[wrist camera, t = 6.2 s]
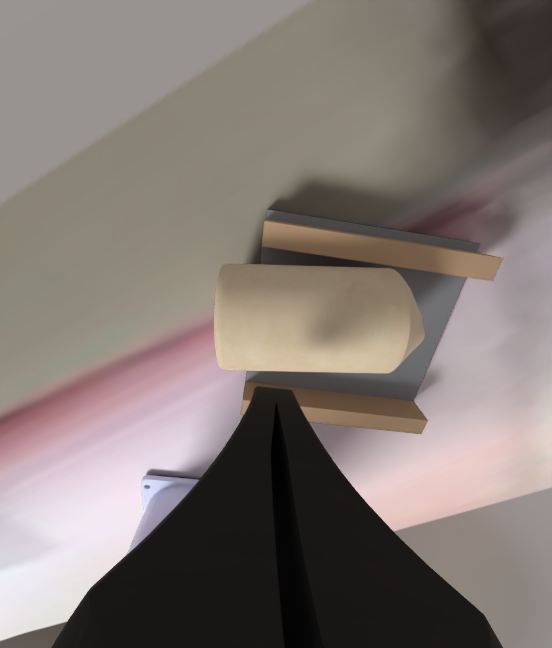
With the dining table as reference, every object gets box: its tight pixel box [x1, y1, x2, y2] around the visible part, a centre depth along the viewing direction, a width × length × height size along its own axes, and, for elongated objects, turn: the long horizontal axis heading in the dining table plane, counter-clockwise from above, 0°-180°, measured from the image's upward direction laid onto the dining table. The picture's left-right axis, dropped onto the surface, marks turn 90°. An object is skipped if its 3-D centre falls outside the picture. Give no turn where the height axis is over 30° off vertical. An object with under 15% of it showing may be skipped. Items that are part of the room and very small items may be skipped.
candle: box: [214, 264, 425, 373], centre depth 14 cm, size 6×6×10 cm
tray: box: [241, 209, 504, 434], centre depth 17 cm, size 13×12×3 cm
